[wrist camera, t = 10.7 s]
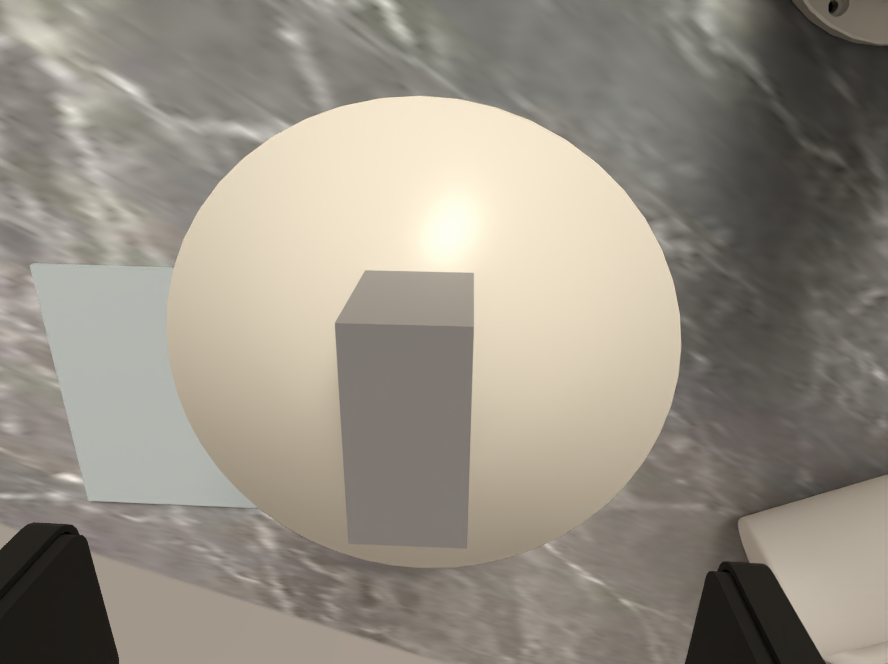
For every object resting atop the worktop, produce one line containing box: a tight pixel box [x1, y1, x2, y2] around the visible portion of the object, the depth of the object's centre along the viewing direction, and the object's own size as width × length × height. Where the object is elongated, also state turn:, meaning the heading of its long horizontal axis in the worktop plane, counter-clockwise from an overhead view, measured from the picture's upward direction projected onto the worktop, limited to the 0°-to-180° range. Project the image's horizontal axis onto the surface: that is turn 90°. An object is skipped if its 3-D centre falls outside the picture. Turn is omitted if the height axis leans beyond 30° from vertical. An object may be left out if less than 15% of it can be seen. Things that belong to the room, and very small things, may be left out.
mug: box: [738, 474, 888, 664], centre depth 35 cm, size 12×10×8 cm
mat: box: [30, 263, 258, 508], centre depth 37 cm, size 16×16×1 cm
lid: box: [166, 96, 681, 568], centre depth 16 cm, size 15×15×5 cm
